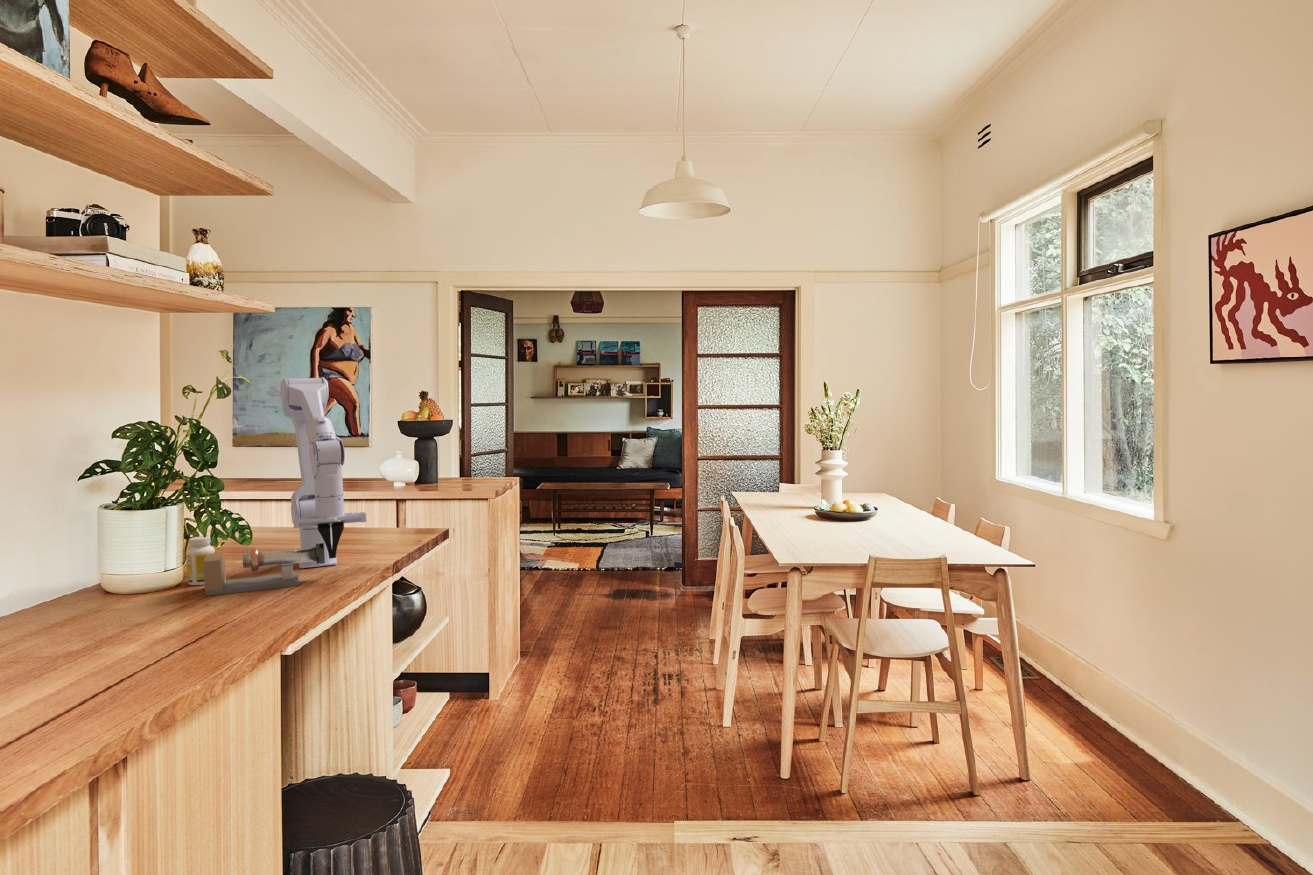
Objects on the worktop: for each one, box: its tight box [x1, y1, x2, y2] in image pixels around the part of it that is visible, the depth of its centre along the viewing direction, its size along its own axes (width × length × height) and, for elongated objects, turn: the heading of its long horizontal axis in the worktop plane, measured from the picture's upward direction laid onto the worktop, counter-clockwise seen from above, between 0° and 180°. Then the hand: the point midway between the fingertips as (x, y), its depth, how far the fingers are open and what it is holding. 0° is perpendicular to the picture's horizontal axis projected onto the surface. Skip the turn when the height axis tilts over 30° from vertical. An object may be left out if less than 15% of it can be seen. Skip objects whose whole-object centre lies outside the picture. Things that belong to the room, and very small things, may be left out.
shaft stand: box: [203, 552, 300, 597], centre depth 166 cm, size 8×17×7 cm, turn 113°
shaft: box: [242, 543, 325, 573], centre depth 169 cm, size 5×16×5 cm, turn 113°
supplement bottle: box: [185, 535, 216, 586], centre depth 170 cm, size 5×5×10 cm
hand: (332, 557), depth 172 cm, fingers closed
